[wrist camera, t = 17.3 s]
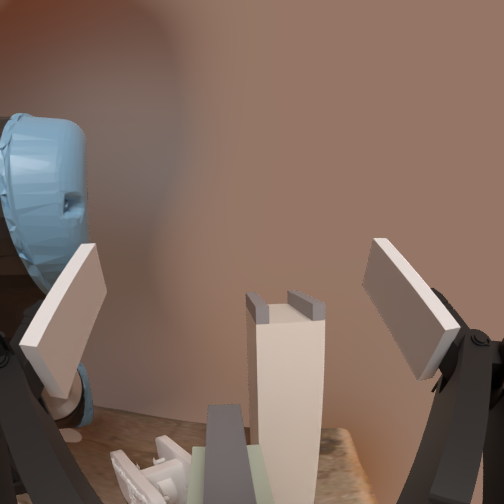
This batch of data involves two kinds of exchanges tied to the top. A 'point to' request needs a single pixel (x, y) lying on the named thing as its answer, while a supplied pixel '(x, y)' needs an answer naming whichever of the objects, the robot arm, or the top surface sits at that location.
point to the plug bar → (227, 458)
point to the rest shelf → (257, 470)
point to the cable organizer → (155, 475)
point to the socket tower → (287, 391)
